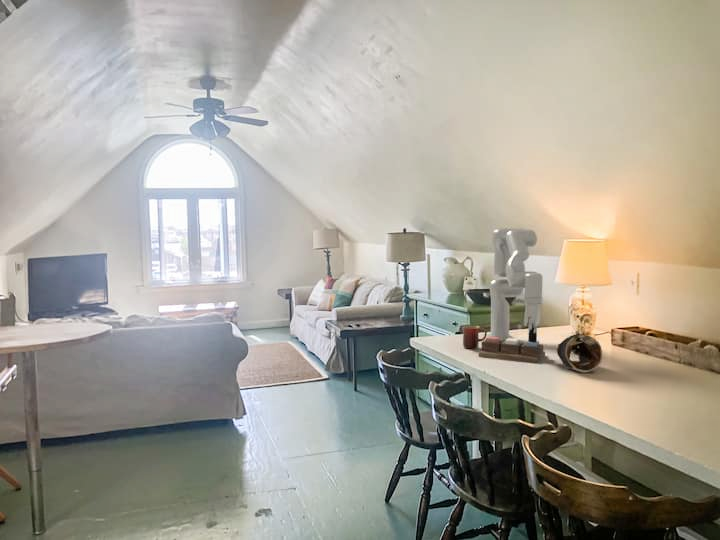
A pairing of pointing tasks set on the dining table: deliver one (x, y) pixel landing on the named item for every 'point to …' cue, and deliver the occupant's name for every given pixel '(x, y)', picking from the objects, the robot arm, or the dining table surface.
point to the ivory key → (512, 341)
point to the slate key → (532, 343)
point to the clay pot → (580, 352)
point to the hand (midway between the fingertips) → (532, 341)
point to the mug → (472, 336)
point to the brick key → (493, 339)
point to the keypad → (512, 351)
